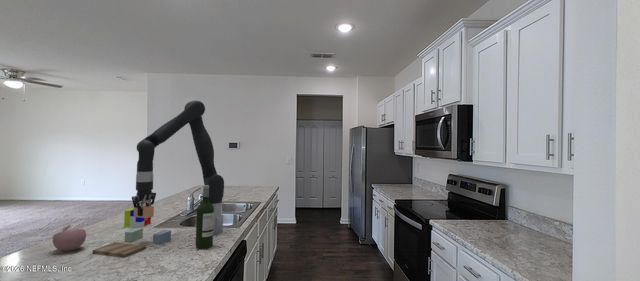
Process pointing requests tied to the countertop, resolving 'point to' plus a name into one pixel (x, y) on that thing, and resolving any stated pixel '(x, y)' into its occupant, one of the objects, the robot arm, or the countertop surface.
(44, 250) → the countertop surface
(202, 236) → the wine bottle
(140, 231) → the sage brick
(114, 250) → the walnut board
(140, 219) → the puzzle toy
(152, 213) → the terracotta brick
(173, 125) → the robot arm
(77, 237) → the mortar and pestle
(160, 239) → the slate brick
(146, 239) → the countertop surface
